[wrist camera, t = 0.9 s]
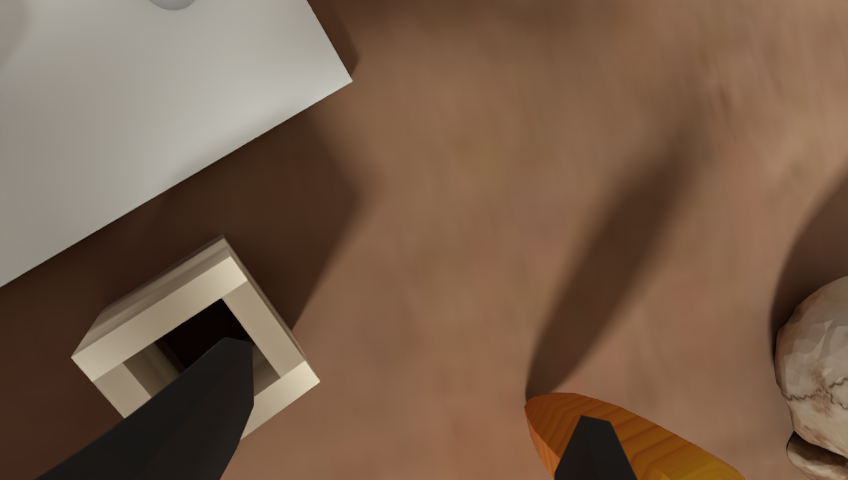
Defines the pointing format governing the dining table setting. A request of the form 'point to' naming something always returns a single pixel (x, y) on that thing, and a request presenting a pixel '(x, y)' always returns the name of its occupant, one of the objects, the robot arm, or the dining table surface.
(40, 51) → the pinboard
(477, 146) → the dining table surface
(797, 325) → the coin bank
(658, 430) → the carrot
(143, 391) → the sleeve
